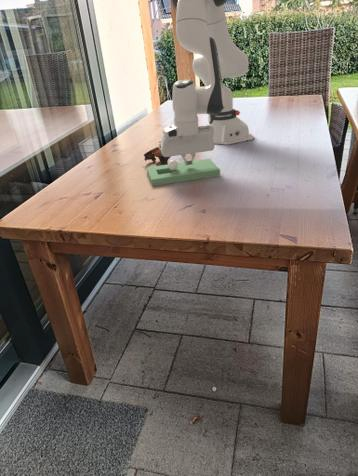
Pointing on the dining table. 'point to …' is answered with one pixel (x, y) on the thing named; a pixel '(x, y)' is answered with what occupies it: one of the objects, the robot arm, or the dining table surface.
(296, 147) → the dining table surface
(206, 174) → the green board
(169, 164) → the ball
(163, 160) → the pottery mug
